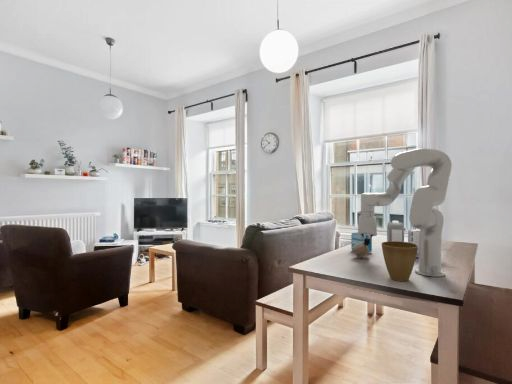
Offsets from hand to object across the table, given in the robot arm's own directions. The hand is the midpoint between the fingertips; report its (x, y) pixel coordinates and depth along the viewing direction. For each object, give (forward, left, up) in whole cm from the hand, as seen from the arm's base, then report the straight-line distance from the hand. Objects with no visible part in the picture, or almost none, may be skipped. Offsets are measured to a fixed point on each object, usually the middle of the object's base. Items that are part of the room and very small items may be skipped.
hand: (367, 245), depth 175 cm
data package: (+18, +4, -8) cm, 20 cm away
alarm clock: (+26, -16, -8) cm, 31 cm away
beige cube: (0, +2, -6) cm, 6 cm away
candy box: (+15, -30, -8) cm, 34 cm away
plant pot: (-36, -16, -8) cm, 40 cm away
